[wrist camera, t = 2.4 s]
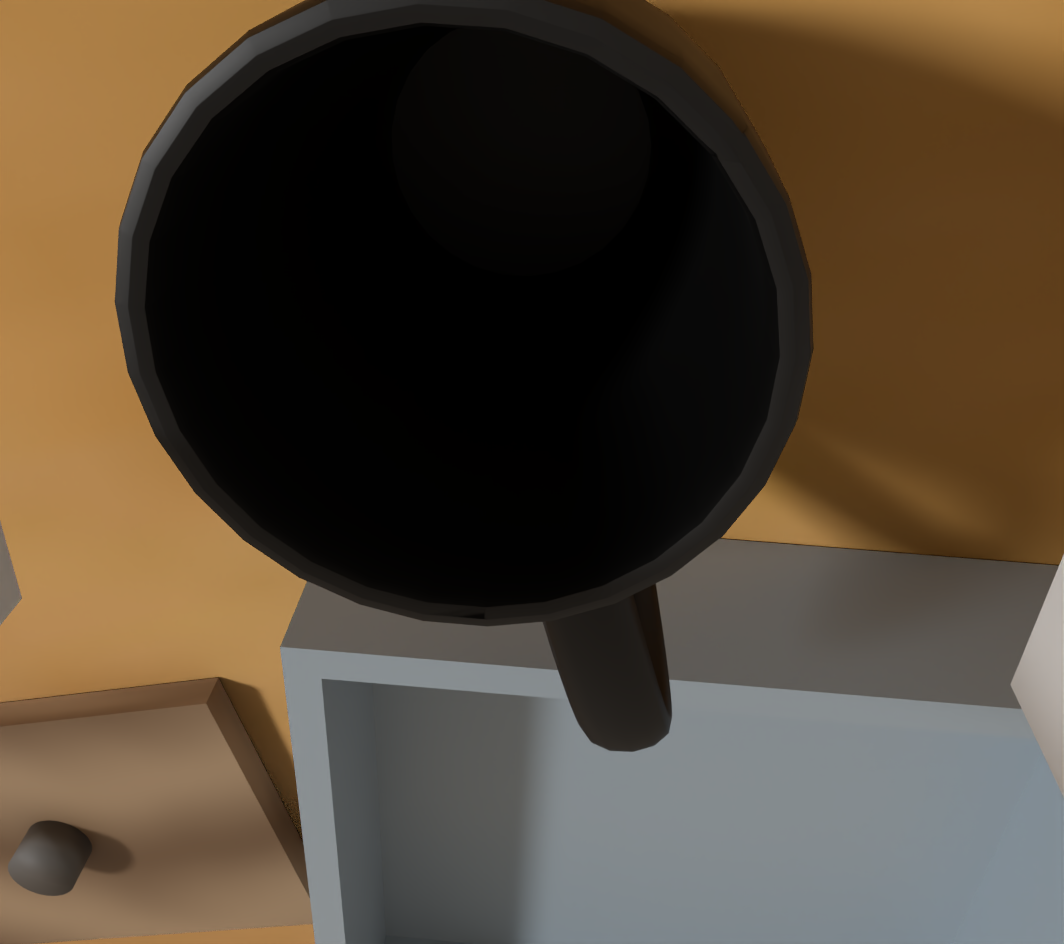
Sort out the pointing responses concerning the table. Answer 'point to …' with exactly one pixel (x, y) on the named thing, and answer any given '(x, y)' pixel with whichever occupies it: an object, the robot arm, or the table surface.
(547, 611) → the mug
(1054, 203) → the table surface
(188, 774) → the lid
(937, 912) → the bin
